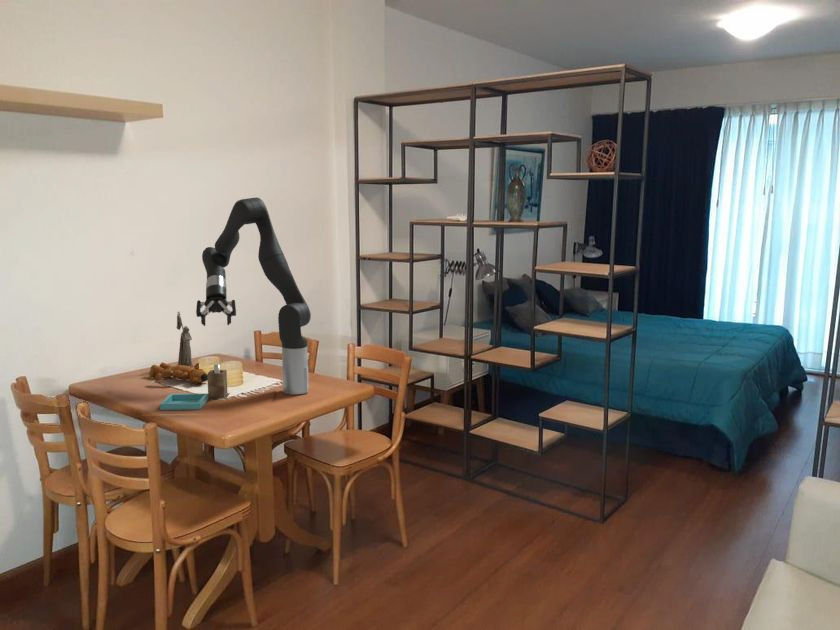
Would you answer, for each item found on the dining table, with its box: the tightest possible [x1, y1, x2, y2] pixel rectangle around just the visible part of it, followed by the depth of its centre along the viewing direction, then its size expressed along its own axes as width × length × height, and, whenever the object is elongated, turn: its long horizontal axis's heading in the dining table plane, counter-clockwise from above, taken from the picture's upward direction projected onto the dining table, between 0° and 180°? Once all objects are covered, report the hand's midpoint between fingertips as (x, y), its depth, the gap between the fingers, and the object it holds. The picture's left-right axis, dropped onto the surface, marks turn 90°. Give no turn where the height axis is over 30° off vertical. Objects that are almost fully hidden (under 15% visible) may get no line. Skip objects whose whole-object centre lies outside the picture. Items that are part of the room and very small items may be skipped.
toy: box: [149, 362, 208, 386], centre depth 257 cm, size 20×7×30 cm
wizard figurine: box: [176, 311, 194, 368], centre depth 273 cm, size 10×8×25 cm
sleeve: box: [206, 369, 229, 398], centre depth 234 cm, size 6×6×9 cm
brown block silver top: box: [208, 363, 230, 400], centre depth 234 cm, size 7×7×12 cm
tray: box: [159, 392, 209, 411], centre depth 224 cm, size 13×12×3 cm
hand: (216, 324), depth 242 cm, fingers open, 8 cm apart
